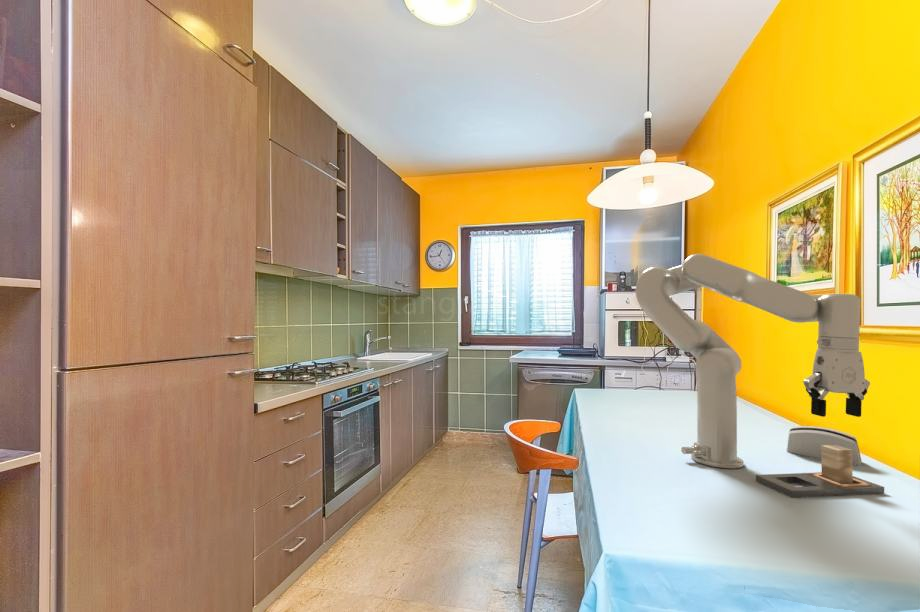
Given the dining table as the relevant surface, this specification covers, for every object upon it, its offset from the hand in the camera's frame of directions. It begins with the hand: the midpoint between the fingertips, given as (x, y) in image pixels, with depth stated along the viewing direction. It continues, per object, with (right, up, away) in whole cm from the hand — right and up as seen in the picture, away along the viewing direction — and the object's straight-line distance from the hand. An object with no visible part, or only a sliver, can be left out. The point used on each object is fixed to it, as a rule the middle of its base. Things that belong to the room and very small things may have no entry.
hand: (835, 415), depth 105 cm
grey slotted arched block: (+14, -18, +21) cm, 31 cm away
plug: (0, -17, 0) cm, 17 cm away
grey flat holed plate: (-6, -17, -2) cm, 18 cm away
